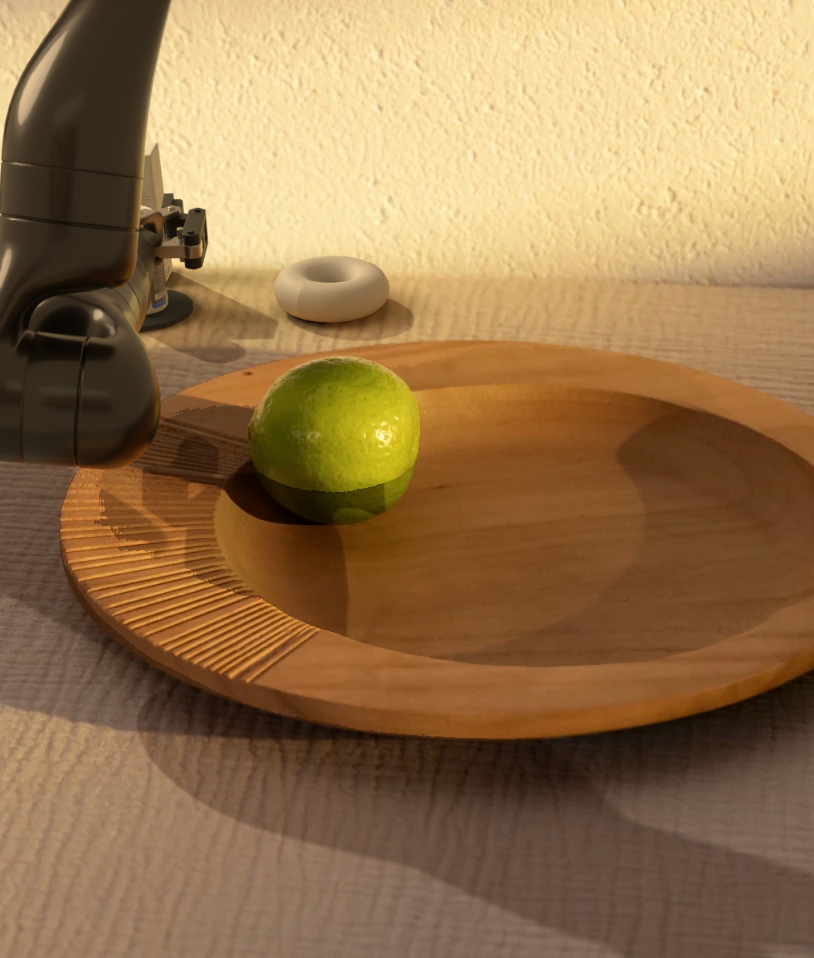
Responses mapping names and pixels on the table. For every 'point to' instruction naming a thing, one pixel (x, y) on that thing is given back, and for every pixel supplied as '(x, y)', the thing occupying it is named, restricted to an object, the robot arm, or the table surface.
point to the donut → (331, 289)
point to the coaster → (170, 312)
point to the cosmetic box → (154, 188)
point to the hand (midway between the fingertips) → (111, 207)
